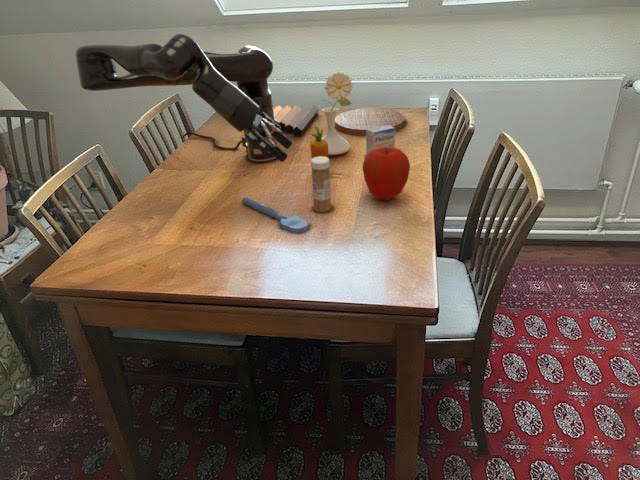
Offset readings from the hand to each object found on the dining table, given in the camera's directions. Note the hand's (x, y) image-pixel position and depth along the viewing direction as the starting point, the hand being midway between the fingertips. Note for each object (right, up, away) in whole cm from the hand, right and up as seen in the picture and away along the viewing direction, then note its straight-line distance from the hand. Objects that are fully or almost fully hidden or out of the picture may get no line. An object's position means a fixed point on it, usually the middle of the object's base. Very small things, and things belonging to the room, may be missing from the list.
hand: (287, 152), depth 127 cm
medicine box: (+27, +5, +36) cm, 45 cm away
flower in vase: (+12, +7, +40) cm, 43 cm away
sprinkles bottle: (+8, -13, +7) cm, 17 cm away
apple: (+25, -10, +11) cm, 29 cm away
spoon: (-4, -15, +5) cm, 16 cm away
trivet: (+26, +21, +63) cm, 71 cm away
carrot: (+8, -4, +23) cm, 25 cm away
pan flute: (-8, +22, +68) cm, 72 cm away
